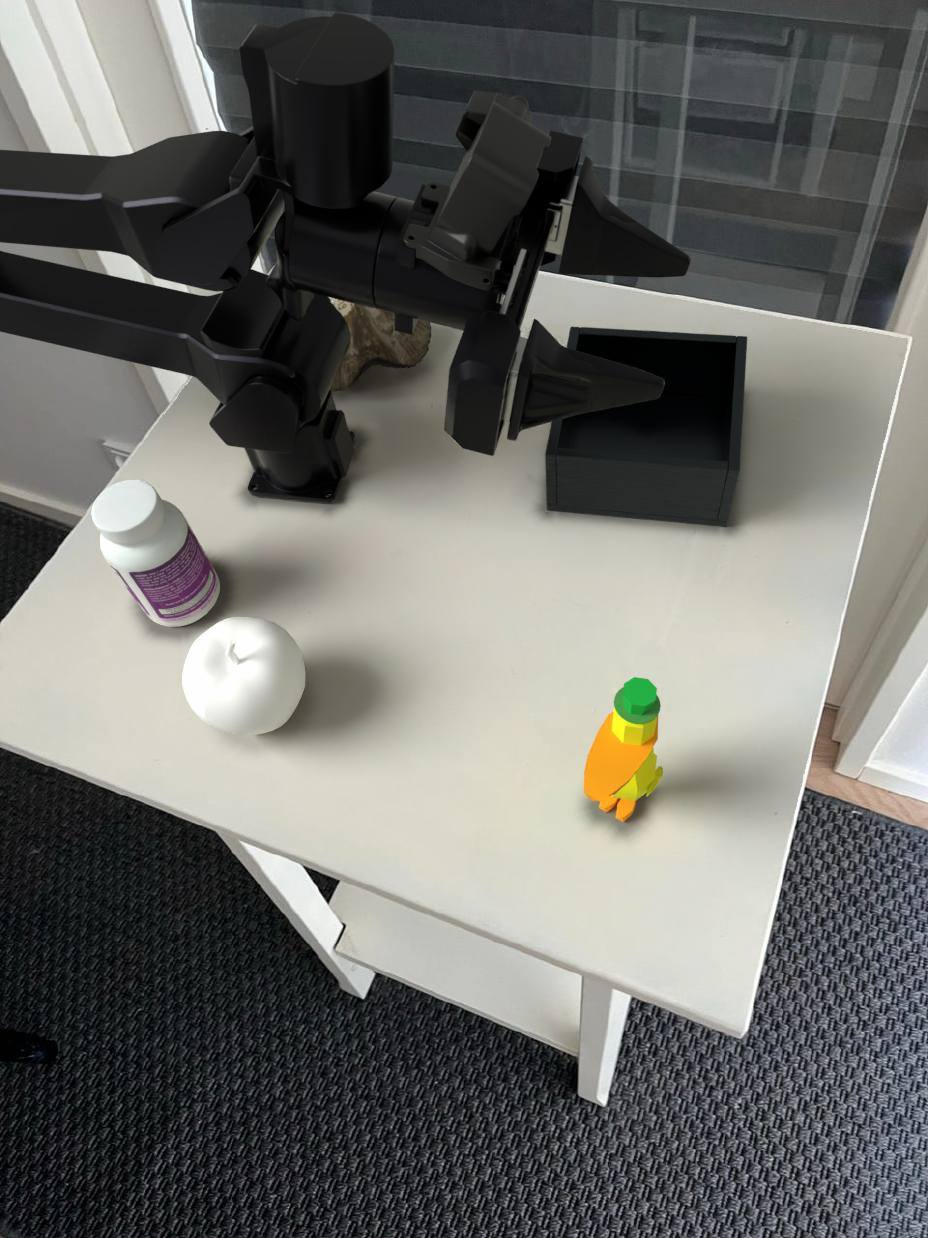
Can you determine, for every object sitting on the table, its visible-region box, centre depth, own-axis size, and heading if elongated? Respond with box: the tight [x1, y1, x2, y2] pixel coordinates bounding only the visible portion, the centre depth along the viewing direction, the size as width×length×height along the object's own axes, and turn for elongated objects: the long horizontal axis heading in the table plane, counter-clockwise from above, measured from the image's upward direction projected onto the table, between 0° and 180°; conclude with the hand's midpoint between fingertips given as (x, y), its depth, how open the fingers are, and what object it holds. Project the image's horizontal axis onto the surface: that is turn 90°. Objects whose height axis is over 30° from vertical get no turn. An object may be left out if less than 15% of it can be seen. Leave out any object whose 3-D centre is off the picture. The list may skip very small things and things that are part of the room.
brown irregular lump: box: [330, 299, 432, 392], centre depth 70 cm, size 8×7×10 cm
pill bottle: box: [91, 478, 221, 628], centre depth 58 cm, size 5×5×10 cm
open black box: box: [544, 326, 748, 528], centre depth 63 cm, size 12×12×6 cm
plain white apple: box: [181, 616, 306, 736], centre depth 54 cm, size 7×7×8 cm
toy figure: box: [583, 676, 664, 823], centre depth 47 cm, size 7×4×12 cm, turn 147°
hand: (676, 325), depth 49 cm, fingers open, 9 cm apart
